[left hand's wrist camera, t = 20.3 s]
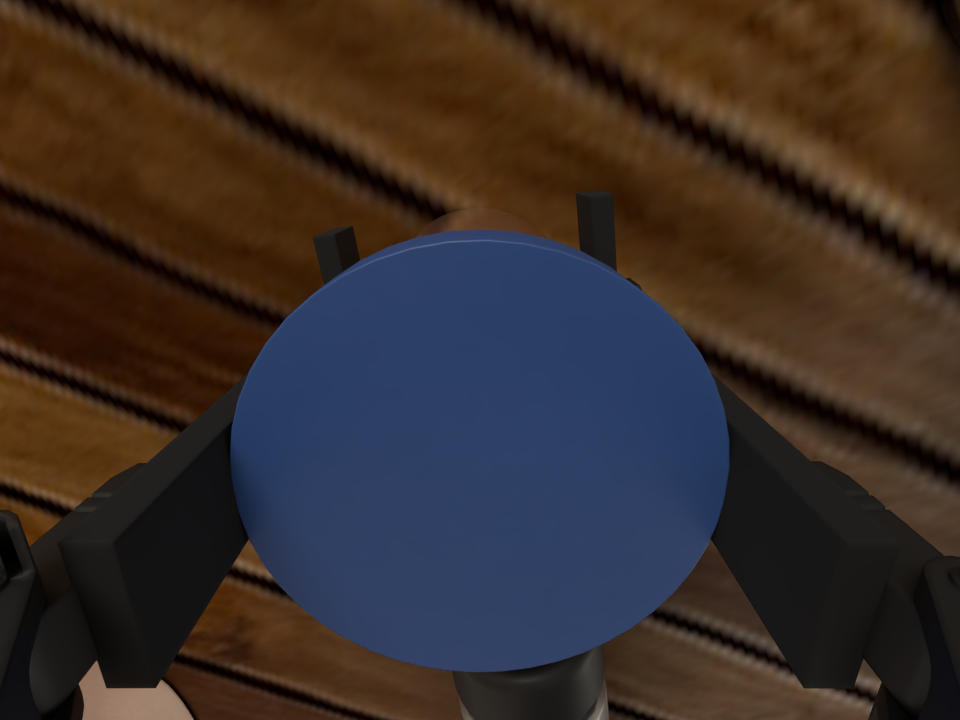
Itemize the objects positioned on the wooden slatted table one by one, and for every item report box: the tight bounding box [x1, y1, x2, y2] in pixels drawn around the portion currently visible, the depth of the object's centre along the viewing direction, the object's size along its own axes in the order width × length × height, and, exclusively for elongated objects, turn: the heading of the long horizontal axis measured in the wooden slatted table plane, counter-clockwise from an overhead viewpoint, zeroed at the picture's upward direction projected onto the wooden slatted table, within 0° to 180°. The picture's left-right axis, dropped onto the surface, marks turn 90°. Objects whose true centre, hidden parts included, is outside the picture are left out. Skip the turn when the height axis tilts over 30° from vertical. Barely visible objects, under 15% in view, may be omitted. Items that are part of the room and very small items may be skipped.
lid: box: [230, 229, 730, 672], centre depth 11 cm, size 10×10×2 cm
